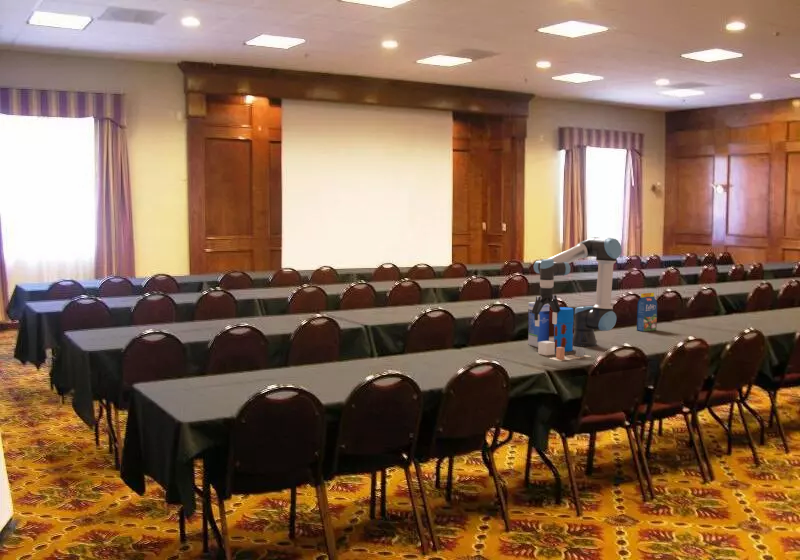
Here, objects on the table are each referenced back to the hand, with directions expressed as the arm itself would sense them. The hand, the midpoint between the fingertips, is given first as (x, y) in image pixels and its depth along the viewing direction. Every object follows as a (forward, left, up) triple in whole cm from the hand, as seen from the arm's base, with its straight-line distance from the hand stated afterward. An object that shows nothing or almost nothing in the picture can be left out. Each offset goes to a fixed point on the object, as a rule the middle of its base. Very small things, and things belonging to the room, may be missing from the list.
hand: (545, 325), depth 479 cm
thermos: (-18, -4, -18) cm, 25 cm away
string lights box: (-19, -26, -18) cm, 36 cm away
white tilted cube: (-1, 0, -17) cm, 17 cm away
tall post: (+2, +14, -16) cm, 22 cm away
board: (-5, +15, -17) cm, 23 cm away
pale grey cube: (-12, +15, -16) cm, 25 cm away
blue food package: (-119, -29, -18) cm, 123 cm away
